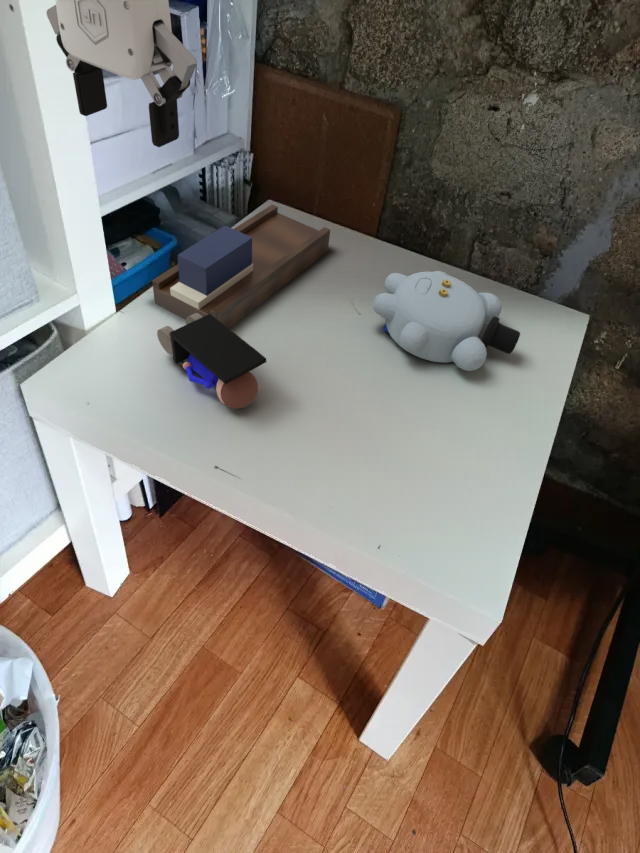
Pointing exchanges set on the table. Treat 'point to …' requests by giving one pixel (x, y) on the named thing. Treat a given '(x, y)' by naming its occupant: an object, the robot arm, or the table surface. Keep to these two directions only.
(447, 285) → the figurine
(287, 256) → the brown wooden tray
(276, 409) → the table surface
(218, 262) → the blue milk carton
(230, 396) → the figurine character
